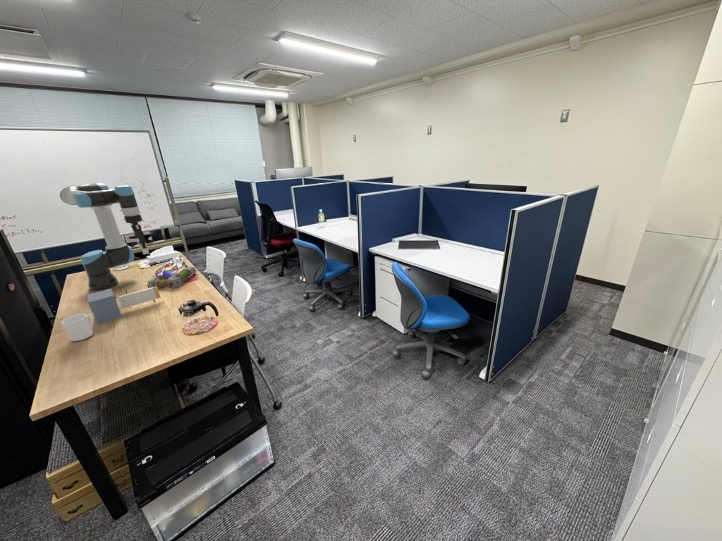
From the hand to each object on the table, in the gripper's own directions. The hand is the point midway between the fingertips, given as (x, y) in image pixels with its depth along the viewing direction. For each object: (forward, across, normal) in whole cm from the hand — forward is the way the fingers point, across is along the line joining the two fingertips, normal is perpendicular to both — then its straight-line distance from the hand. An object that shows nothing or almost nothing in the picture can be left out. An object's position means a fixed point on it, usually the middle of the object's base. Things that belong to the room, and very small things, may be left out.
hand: (144, 251), depth 168 cm
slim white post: (+26, +10, -9) cm, 30 cm away
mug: (+29, +25, -35) cm, 52 cm away
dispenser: (+29, +10, -25) cm, 39 cm away
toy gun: (+29, -16, +12) cm, 36 cm away
